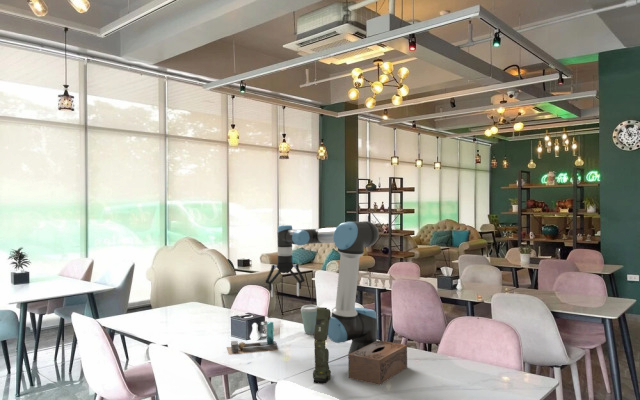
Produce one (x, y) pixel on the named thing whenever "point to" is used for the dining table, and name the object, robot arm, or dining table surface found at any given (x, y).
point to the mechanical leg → (321, 346)
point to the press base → (250, 348)
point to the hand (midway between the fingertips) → (285, 296)
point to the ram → (269, 335)
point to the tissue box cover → (377, 362)
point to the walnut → (242, 345)
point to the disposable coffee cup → (309, 318)
